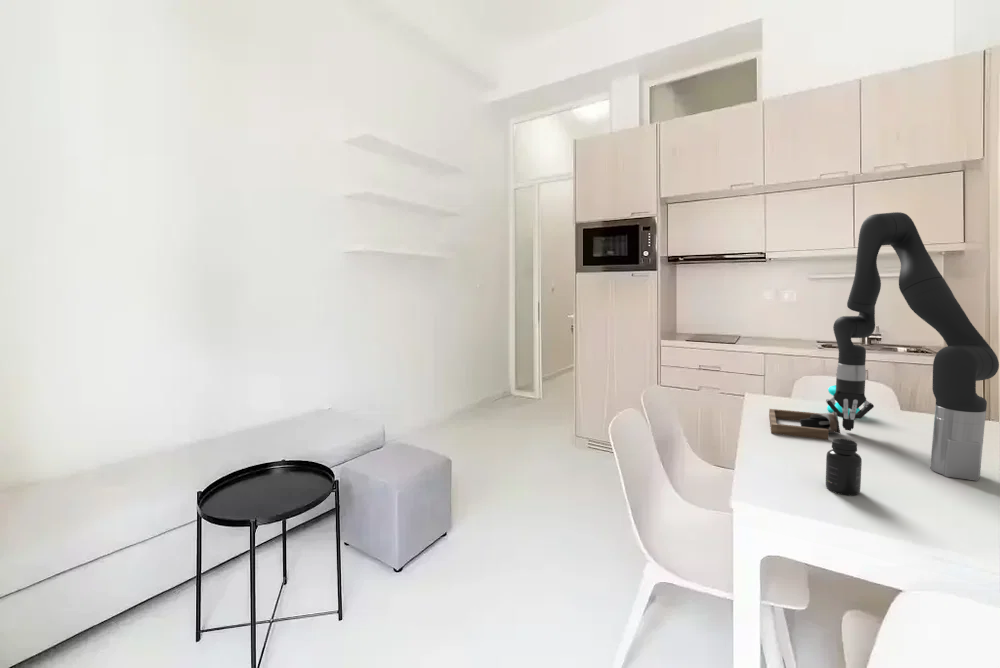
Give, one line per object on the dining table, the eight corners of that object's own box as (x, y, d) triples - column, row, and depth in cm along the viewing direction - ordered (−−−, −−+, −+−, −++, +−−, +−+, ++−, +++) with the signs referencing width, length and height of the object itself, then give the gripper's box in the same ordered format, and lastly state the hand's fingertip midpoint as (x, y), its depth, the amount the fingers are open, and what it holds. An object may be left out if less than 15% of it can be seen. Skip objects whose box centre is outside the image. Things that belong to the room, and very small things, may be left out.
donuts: (857, 391, 167) (824, 387, 174) (855, 419, 168) (823, 413, 176) (865, 387, 173) (833, 383, 181) (863, 413, 174) (831, 408, 182)
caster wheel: (800, 432, 162) (834, 430, 158) (805, 434, 152) (842, 433, 148) (797, 412, 163) (831, 410, 159) (802, 414, 153) (838, 412, 149)
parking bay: (828, 439, 147) (828, 430, 147) (771, 433, 154) (771, 424, 154) (819, 421, 166) (820, 413, 165) (769, 416, 173) (769, 408, 173)
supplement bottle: (845, 483, 116) (848, 436, 115) (867, 495, 109) (870, 446, 108) (818, 484, 116) (820, 437, 115) (838, 496, 109) (841, 447, 108)
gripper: (827, 378, 151) (824, 430, 153) (879, 381, 145) (875, 435, 147) (824, 374, 158) (822, 424, 160) (873, 377, 152) (870, 429, 153)
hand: (847, 429), depth 153 cm, fingers closed
